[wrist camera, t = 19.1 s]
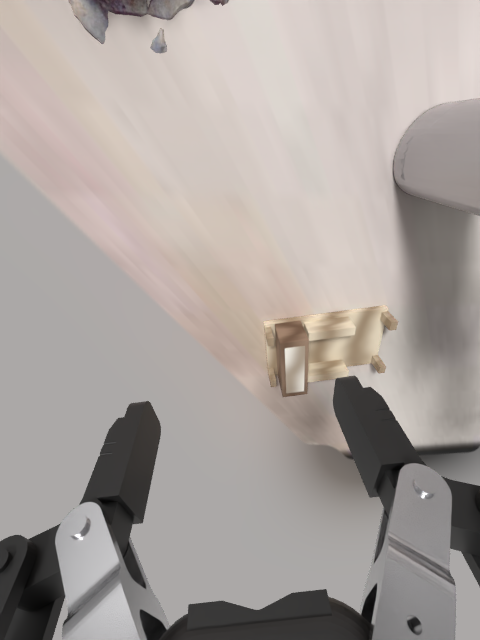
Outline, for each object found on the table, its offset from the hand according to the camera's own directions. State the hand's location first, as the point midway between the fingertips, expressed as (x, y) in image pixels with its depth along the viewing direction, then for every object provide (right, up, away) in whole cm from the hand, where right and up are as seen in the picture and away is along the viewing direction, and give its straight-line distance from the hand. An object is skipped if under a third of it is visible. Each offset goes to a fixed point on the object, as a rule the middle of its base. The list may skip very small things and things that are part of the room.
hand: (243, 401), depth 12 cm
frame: (+8, -2, +35) cm, 36 cm away
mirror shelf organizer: (+14, 0, +35) cm, 38 cm away
